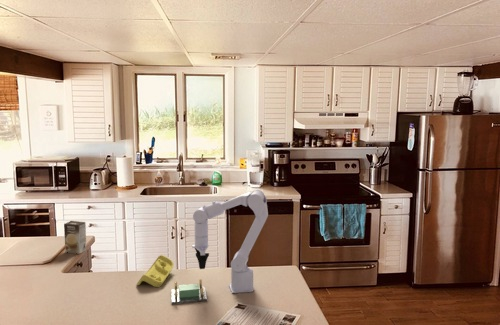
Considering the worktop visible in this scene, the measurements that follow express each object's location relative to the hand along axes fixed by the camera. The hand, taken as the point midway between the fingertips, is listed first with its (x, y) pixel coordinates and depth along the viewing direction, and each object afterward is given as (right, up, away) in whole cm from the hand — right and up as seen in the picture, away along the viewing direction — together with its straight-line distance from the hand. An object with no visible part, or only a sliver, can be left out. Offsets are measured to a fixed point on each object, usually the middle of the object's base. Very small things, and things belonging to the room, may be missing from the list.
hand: (201, 265), depth 164 cm
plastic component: (-21, -9, +8) cm, 24 cm away
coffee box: (-74, -4, +39) cm, 84 cm away
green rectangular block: (-4, -10, -9) cm, 14 cm away
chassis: (-4, -11, -9) cm, 14 cm away
